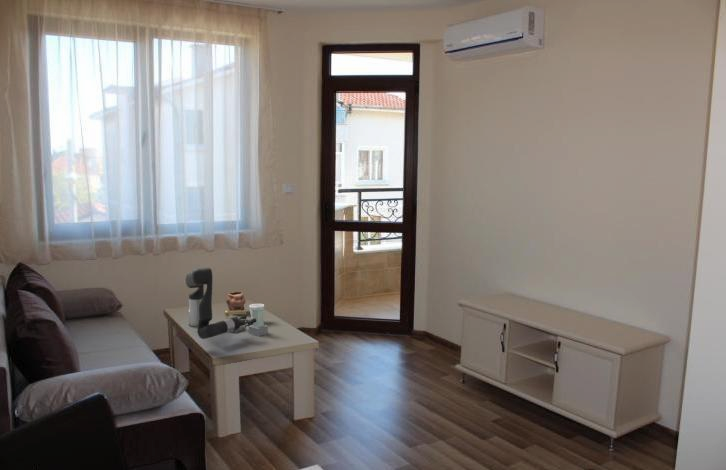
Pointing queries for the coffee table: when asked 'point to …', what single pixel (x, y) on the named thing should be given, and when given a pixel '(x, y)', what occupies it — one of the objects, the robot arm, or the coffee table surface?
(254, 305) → the cup
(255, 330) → the housing
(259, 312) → the cover
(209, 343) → the coffee table surface
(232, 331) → the plate
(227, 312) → the brown piece
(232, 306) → the decorative planter
